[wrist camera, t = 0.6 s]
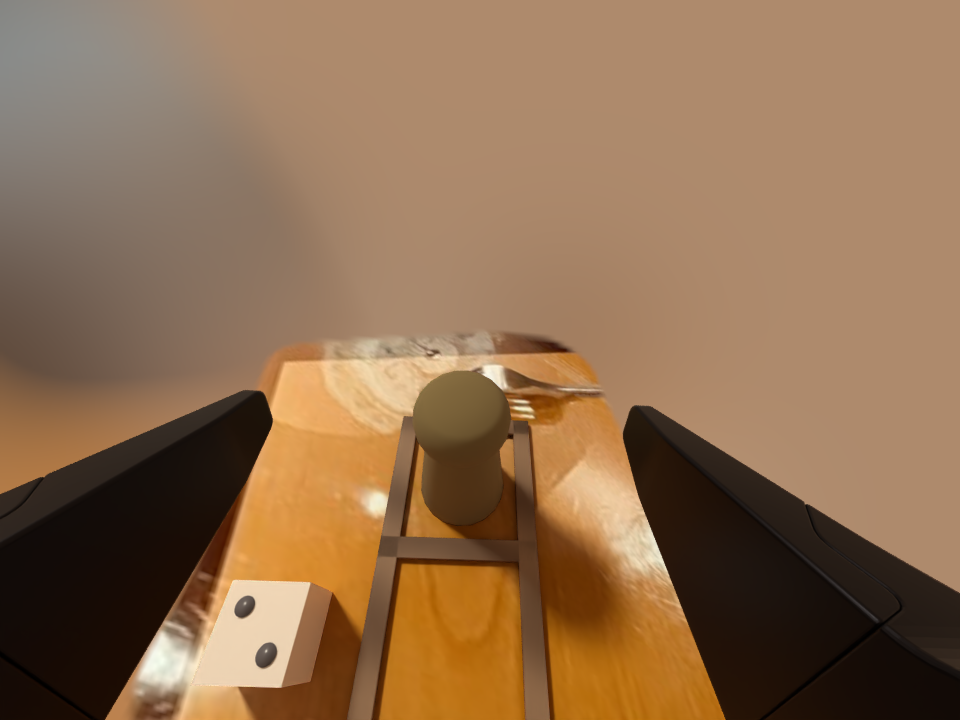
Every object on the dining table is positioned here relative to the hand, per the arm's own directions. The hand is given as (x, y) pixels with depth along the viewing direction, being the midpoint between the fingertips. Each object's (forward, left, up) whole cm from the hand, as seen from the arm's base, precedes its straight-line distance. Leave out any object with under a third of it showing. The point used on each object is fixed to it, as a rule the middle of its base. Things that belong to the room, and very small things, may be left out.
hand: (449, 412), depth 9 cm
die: (-4, +9, -18) cm, 21 cm away
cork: (+5, 0, -18) cm, 19 cm away
